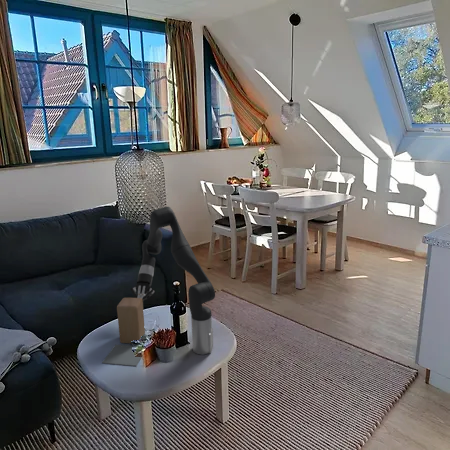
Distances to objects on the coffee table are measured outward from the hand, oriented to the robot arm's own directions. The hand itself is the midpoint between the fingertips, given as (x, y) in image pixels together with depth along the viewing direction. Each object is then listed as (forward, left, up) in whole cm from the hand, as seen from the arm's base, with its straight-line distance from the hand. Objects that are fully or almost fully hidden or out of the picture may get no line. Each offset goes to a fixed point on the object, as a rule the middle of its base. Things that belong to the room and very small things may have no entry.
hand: (139, 306), depth 203 cm
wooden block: (0, +10, -12) cm, 16 cm away
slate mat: (-2, +24, -12) cm, 27 cm away
